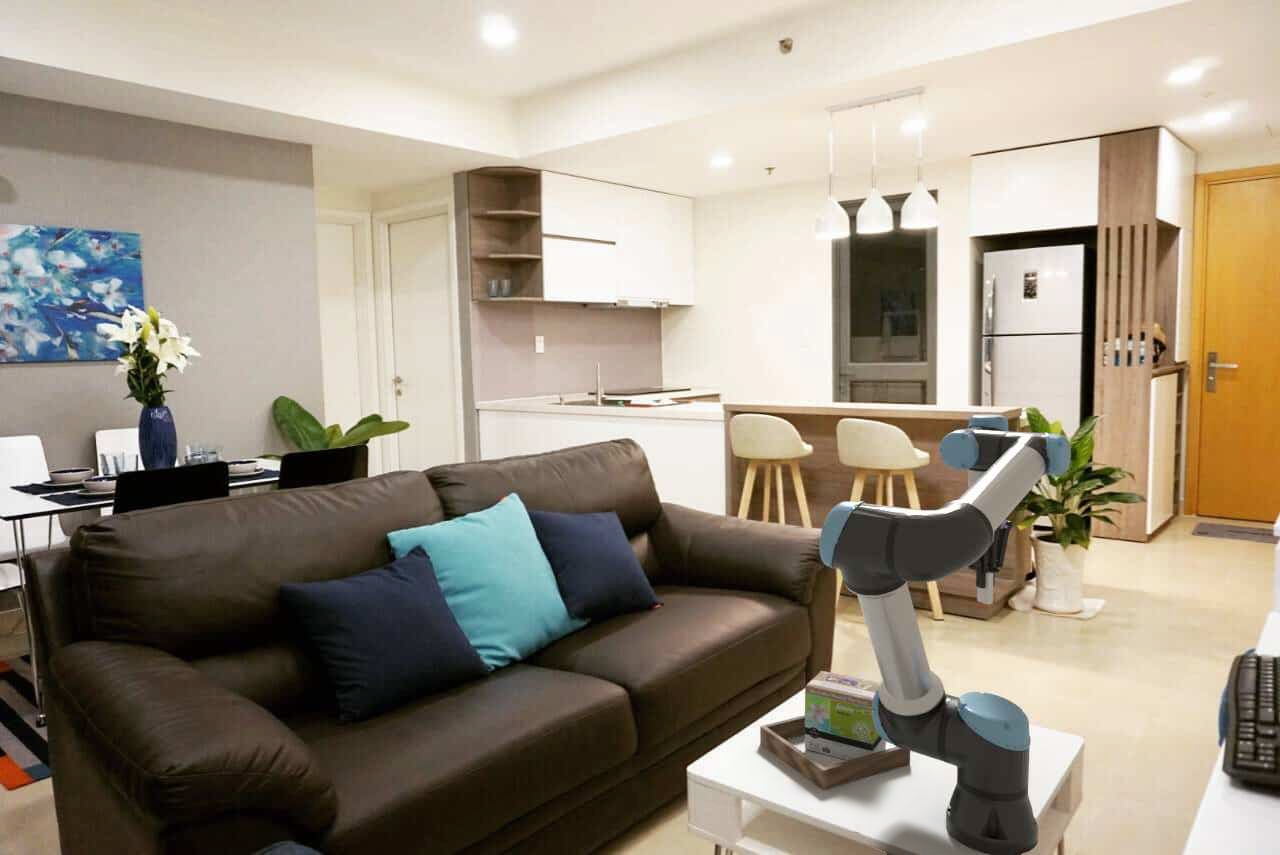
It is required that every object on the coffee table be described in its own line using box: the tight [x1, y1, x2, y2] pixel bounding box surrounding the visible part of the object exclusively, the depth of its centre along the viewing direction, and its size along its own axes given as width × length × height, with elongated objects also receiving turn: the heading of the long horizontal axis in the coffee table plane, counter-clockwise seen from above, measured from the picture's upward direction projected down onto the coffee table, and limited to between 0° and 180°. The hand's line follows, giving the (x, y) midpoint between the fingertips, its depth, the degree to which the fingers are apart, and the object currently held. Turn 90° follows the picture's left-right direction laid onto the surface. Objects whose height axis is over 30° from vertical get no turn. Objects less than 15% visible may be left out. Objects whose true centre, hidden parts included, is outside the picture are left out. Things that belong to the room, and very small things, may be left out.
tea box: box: [804, 670, 887, 761], centre depth 183 cm, size 15×10×15 cm, turn 58°
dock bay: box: [759, 714, 911, 791], centre depth 182 cm, size 22×22×4 cm
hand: (984, 602), depth 179 cm, fingers closed
